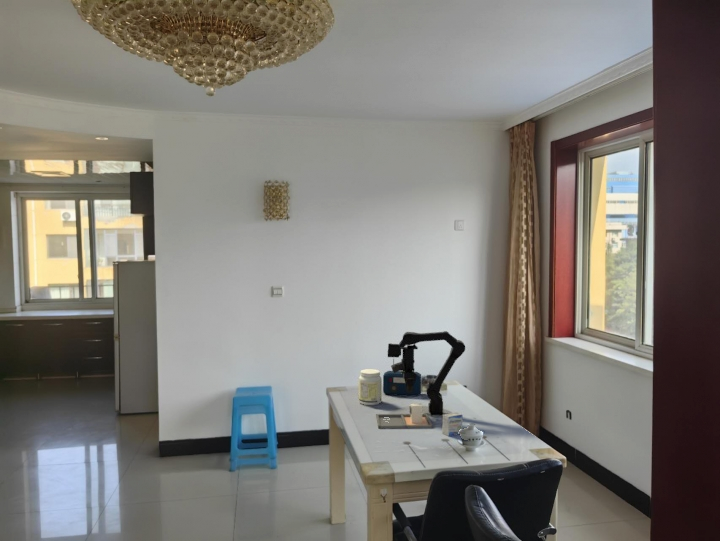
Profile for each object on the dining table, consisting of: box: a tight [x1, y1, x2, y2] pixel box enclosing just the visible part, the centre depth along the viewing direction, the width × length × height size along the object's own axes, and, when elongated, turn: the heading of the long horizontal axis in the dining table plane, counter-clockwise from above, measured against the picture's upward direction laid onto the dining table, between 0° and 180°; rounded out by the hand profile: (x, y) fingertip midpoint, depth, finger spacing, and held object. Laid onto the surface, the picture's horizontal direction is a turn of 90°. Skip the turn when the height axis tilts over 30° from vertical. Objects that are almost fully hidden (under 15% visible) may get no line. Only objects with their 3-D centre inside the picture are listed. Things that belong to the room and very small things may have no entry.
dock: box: [375, 413, 434, 430], centre depth 248 cm, size 25×17×2 cm
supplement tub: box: [358, 368, 383, 406], centre depth 280 cm, size 12×12×17 cm
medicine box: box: [442, 412, 464, 437], centre depth 234 cm, size 8×4×9 cm, turn 117°
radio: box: [382, 358, 422, 397], centre depth 297 cm, size 21×9×20 cm, turn 81°
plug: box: [409, 403, 423, 423], centre depth 248 cm, size 6×4×8 cm
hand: (408, 388), depth 264 cm, fingers open, 9 cm apart
